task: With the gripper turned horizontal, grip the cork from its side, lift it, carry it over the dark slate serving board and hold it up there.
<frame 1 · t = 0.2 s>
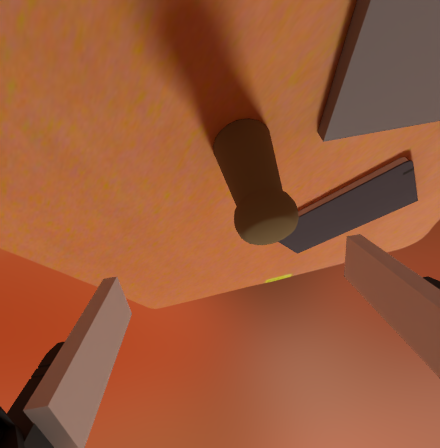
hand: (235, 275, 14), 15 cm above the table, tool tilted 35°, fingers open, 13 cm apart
notebook: (336, 209, 40), on the table
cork: (241, 144, 25), on the table
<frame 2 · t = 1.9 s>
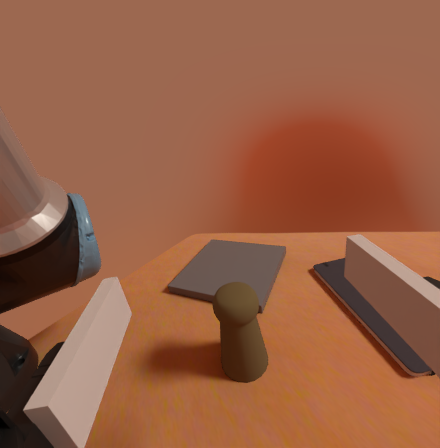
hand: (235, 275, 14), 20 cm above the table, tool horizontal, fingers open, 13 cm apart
slate board: (231, 271, 48), on the table
notebook: (386, 304, 36), on the table
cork: (244, 359, 31), on the table
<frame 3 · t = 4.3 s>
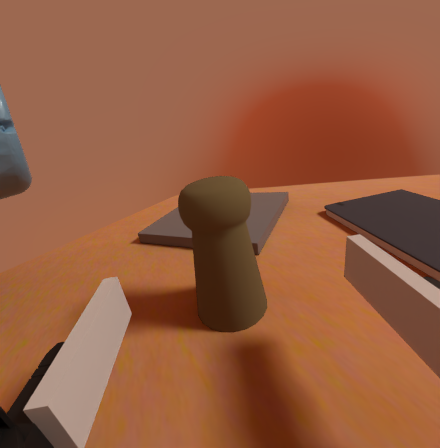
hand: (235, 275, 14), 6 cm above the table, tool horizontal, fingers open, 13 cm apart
slate board: (220, 219, 38), on the table
notebook: (429, 238, 26), on the table
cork: (232, 305, 21), on the table
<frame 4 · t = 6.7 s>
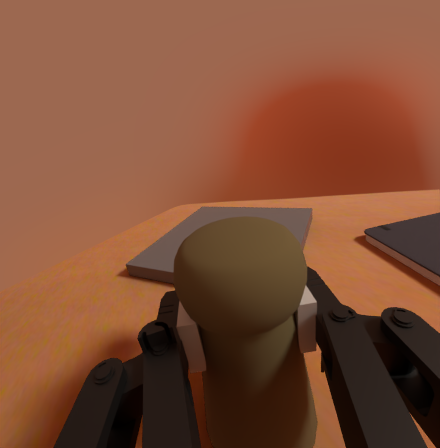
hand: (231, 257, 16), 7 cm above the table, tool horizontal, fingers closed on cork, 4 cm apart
slate board: (230, 243, 31), on the table
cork: (259, 408, 13), on the table, touching gripper
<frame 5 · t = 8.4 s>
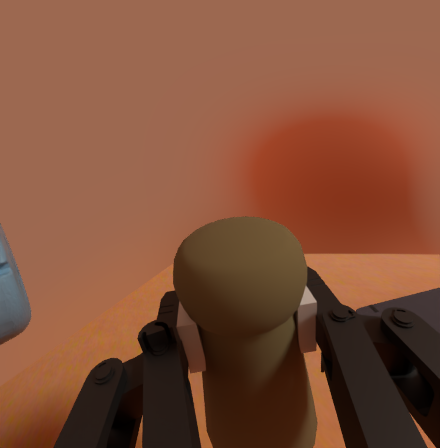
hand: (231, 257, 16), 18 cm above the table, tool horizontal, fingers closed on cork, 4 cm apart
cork: (259, 409, 13), point 11 cm above the table, touching gripper
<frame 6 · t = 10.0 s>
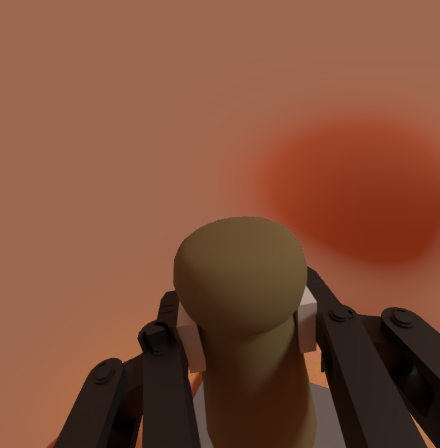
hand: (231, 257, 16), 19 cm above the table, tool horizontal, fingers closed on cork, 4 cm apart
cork: (259, 408, 13), point 12 cm above the table, touching gripper
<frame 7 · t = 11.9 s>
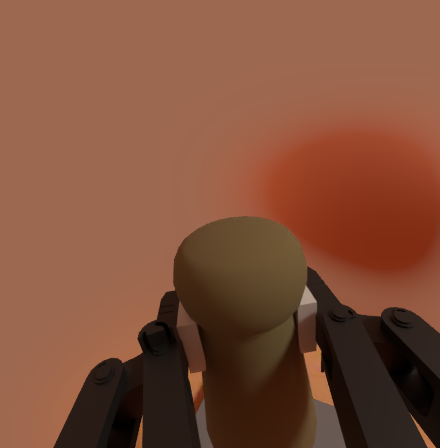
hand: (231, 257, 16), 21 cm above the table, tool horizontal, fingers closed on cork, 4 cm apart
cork: (258, 408, 13), point 14 cm above the table, touching gripper
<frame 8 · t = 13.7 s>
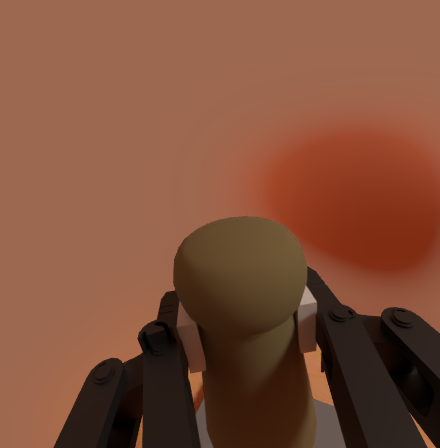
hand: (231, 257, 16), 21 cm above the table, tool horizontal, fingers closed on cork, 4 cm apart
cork: (258, 408, 13), point 14 cm above the table, touching gripper
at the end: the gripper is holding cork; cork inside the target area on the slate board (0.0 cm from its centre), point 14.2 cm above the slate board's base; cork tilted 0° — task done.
